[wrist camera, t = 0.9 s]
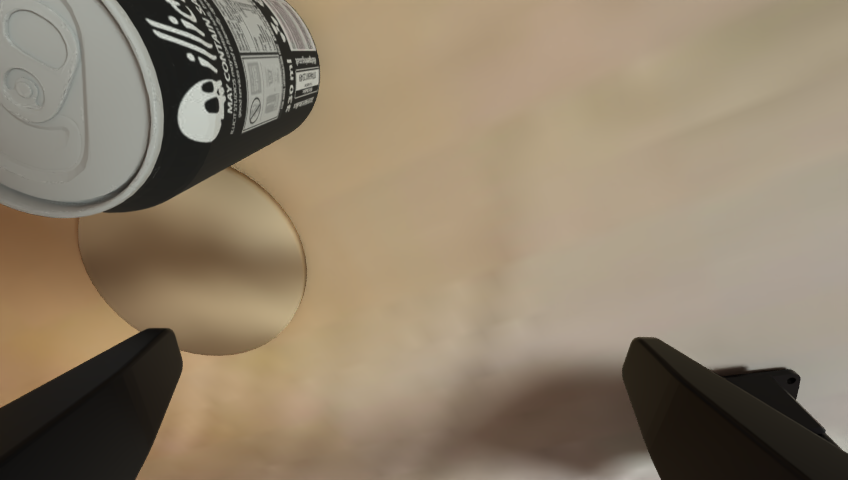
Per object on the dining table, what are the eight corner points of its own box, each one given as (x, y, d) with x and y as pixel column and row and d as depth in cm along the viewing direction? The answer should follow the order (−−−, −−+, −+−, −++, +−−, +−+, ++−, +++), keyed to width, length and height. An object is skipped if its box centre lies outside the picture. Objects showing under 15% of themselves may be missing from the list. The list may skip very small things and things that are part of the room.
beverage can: (161, 86, 20) (-180, 130, 9) (213, -54, 18) (-161, -225, 7) (286, 163, 21) (123, 284, 10) (350, 43, 19) (228, 34, 8)
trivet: (331, 333, 25) (328, 341, 25) (149, 358, 27) (141, 367, 26) (264, 133, 21) (258, 136, 20) (46, 175, 22) (33, 179, 21)
